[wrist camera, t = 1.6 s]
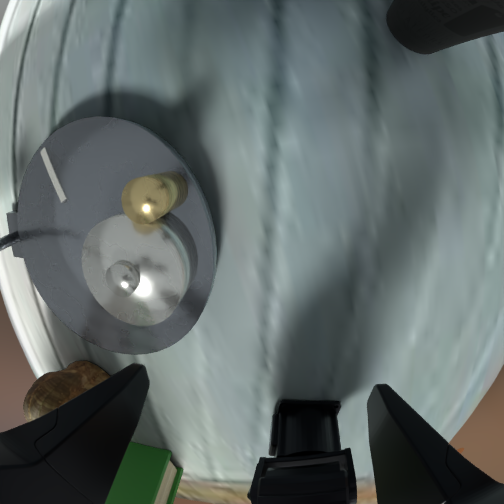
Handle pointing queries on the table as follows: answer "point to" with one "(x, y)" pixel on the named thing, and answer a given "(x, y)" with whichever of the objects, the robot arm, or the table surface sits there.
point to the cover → (139, 267)
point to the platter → (101, 208)
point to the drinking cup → (443, 22)
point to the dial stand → (12, 235)
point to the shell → (61, 388)
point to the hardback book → (145, 477)
